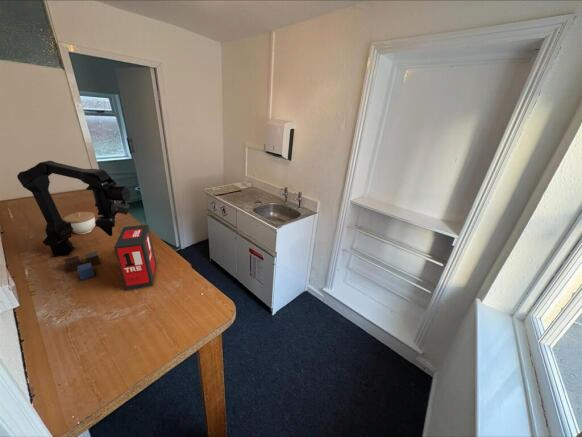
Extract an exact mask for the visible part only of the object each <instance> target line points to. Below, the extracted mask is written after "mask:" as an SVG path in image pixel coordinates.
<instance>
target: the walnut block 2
mask: <svg viewBox="0 0 582 437" xmlns="http://www.w3.org/2000/svg"><path fill="white" fill-rule="evenodd" d="M84 260H85V262H86V264H87V263H90V262H91V264H92V267H94V266H97V265H99V264H101V259H100V256H99V253H98V251H97V250H95V251H91V252H86V253H84Z"/></svg>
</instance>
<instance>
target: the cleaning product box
mask: <svg viewBox="0 0 582 437" xmlns="http://www.w3.org/2000/svg"><path fill="white" fill-rule="evenodd" d="M116 240H117V241H116V242H115V245H114V251H115V252H114V253H115V254H116V255H115V256H116V258H117V261H118V265H119V268H120V272H121V276H122V279H123V282H124V286H125V289H126V291H131V290H136V289H142V288H146V287H152V286H153V285H154V278H155V273H156V265H157V260H156V255H155V251H154V246H153V240H152V237H151V231H150V227H149V224H141V225H130V226H123V227H122V230H121V232H120V234H119V236H118V238H117V239H116Z"/></svg>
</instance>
